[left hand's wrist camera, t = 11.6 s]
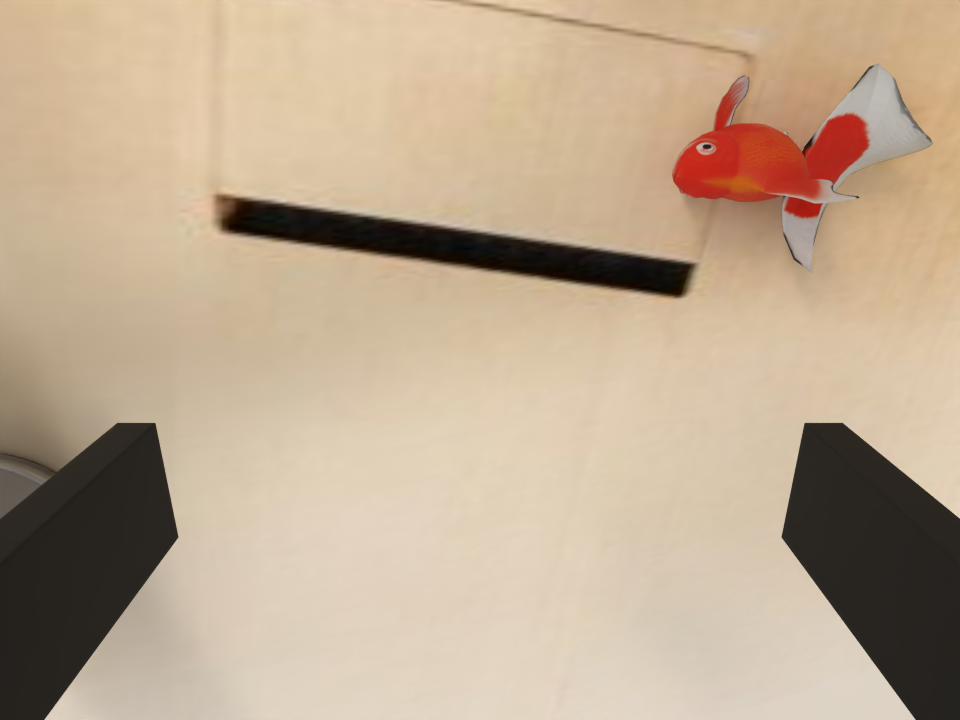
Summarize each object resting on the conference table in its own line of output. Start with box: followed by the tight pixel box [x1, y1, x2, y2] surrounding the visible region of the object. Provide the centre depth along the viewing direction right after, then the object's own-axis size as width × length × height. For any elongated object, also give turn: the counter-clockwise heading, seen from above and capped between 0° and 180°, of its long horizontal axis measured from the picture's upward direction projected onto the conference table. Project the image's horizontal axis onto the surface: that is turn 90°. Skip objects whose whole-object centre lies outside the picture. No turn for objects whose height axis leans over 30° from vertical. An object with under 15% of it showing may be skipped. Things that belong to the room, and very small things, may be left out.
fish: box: [672, 64, 933, 272], centre depth 36 cm, size 11×16×10 cm
